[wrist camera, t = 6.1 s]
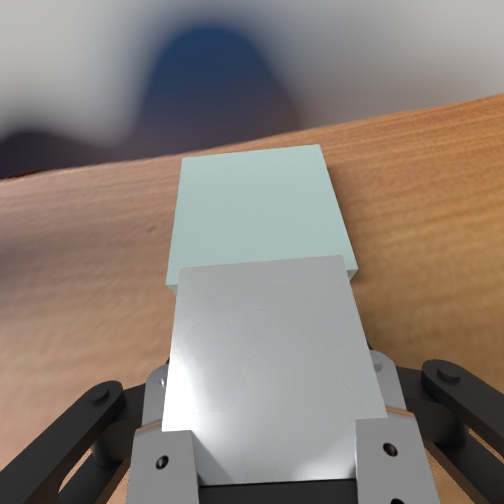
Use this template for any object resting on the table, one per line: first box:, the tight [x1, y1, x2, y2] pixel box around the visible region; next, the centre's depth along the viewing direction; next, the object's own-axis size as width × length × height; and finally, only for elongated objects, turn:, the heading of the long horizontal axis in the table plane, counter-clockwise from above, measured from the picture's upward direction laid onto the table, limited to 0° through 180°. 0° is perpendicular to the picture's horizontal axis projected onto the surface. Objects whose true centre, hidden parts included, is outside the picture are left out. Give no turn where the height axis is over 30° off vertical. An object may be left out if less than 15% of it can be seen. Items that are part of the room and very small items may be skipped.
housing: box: [162, 255, 388, 486], centre depth 10 cm, size 5×5×10 cm
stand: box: [166, 144, 358, 296], centre depth 19 cm, size 12×12×3 cm
